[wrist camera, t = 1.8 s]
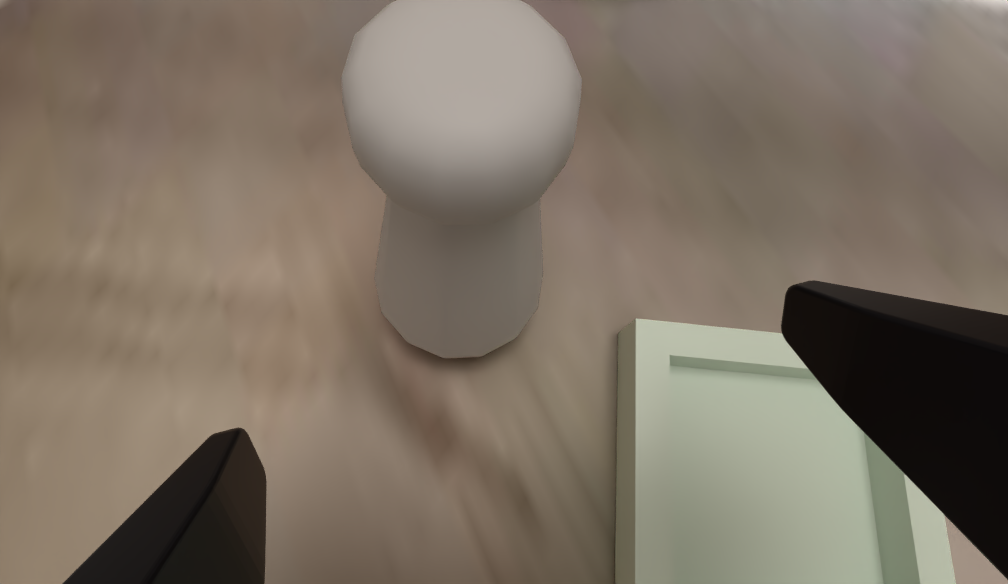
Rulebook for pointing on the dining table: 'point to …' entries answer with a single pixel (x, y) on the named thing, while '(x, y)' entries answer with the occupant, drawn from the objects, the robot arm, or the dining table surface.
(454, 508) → the dining table surface
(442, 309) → the salt shaker
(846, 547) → the tray
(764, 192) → the dining table surface
